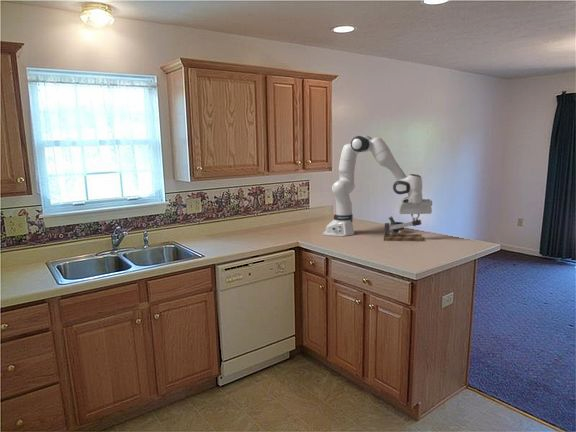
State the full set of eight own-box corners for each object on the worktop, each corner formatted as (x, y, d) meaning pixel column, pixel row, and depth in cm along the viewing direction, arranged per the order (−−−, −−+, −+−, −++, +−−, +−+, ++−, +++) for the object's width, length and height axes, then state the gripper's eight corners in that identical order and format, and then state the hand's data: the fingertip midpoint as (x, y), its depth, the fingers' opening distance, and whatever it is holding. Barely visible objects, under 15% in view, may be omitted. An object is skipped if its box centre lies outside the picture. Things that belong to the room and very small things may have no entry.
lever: (389, 230, 271) (388, 226, 271) (389, 229, 275) (388, 225, 274) (421, 224, 265) (421, 220, 265) (421, 223, 269) (420, 219, 269)
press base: (383, 240, 269) (383, 225, 267) (384, 236, 280) (384, 222, 279) (422, 241, 263) (422, 225, 261) (421, 237, 274) (421, 222, 273)
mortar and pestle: (401, 231, 296) (401, 214, 294) (406, 233, 287) (406, 216, 285) (386, 232, 294) (386, 215, 292) (391, 234, 285) (391, 217, 283)
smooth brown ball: (397, 236, 270) (397, 230, 269) (397, 235, 274) (397, 228, 273) (404, 236, 269) (404, 230, 268) (404, 235, 273) (404, 228, 272)
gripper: (431, 198, 266) (431, 219, 268) (399, 199, 271) (399, 219, 273) (432, 199, 260) (432, 221, 262) (399, 200, 265) (399, 221, 267)
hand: (415, 220), depth 267 cm, fingers closed
